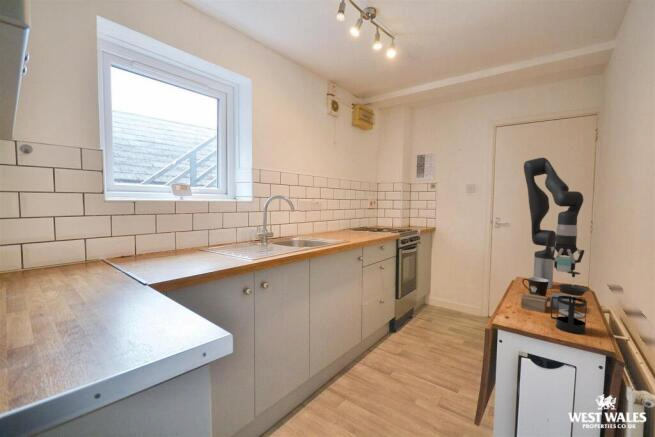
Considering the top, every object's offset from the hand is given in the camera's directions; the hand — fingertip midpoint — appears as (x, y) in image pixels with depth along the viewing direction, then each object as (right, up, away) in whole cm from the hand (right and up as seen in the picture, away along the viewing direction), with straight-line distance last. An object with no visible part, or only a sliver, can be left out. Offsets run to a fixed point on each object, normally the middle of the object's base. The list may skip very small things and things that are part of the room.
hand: (564, 269), depth 141 cm
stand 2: (0, -18, +1) cm, 18 cm away
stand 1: (-14, -18, +1) cm, 23 cm away
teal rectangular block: (0, 0, 0) cm, 0 cm away
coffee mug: (-3, -17, +15) cm, 23 cm away
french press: (-16, -20, -22) cm, 34 cm away
